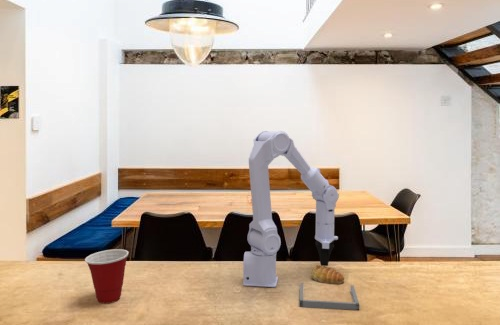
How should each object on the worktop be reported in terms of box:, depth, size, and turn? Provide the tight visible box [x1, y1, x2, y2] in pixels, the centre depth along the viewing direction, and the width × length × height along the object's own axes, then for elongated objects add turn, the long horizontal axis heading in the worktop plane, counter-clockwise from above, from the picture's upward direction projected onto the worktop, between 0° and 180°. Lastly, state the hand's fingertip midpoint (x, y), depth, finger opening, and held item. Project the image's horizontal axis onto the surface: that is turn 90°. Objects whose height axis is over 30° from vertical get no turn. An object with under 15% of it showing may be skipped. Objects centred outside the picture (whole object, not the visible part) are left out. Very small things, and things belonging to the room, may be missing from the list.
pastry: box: [310, 265, 345, 285], centre depth 123 cm, size 9×7×4 cm
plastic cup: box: [84, 248, 129, 304], centre depth 108 cm, size 11×11×12 cm
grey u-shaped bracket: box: [299, 282, 360, 311], centre depth 110 cm, size 15×13×2 cm
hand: (324, 265), depth 131 cm, fingers closed
